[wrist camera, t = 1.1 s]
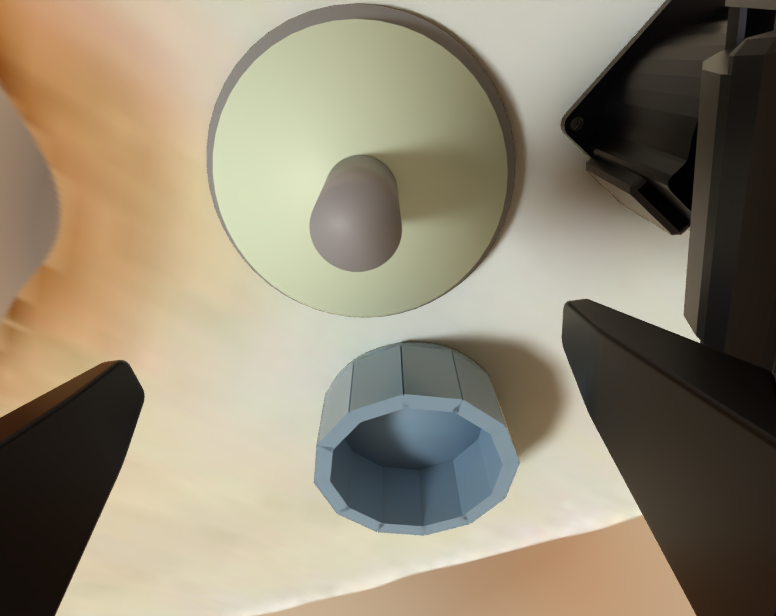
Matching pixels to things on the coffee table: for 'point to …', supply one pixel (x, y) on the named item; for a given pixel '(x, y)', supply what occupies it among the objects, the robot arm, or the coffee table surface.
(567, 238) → the coffee table surface
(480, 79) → the mat
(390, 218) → the lid
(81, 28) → the coffee table surface
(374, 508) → the bowl
